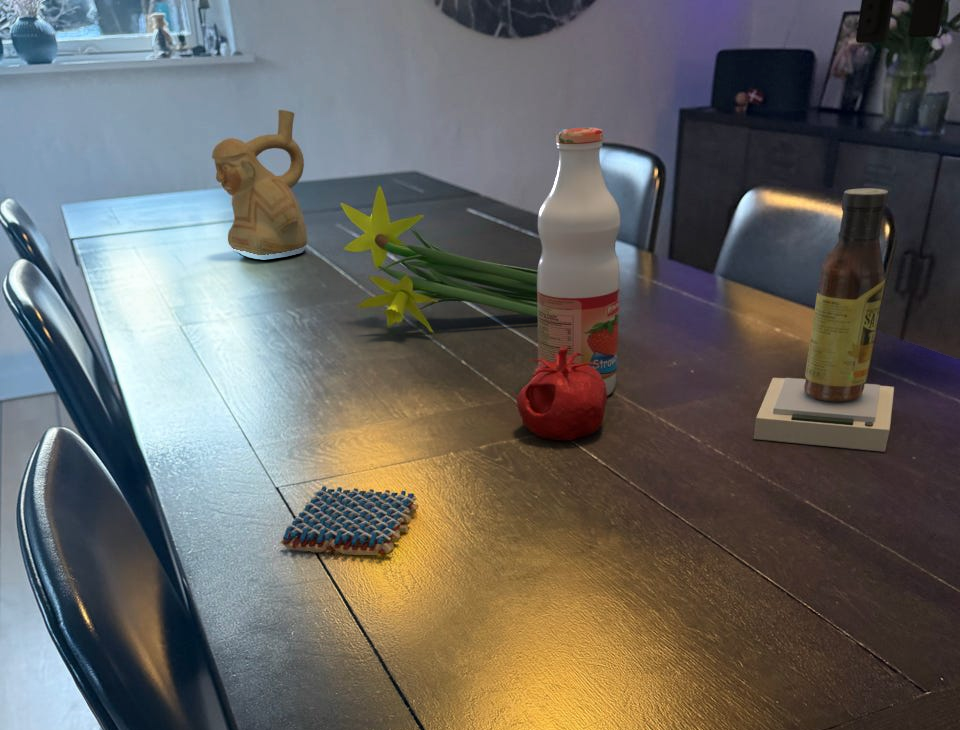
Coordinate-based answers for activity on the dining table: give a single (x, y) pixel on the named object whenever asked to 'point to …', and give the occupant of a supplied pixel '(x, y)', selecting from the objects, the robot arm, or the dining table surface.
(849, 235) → the sauce bottle
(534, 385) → the pomegranate
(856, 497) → the dining table surface
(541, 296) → the fruit juice
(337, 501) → the woven mat
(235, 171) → the ceramic vessel
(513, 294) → the daffodil flowers
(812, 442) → the scale
